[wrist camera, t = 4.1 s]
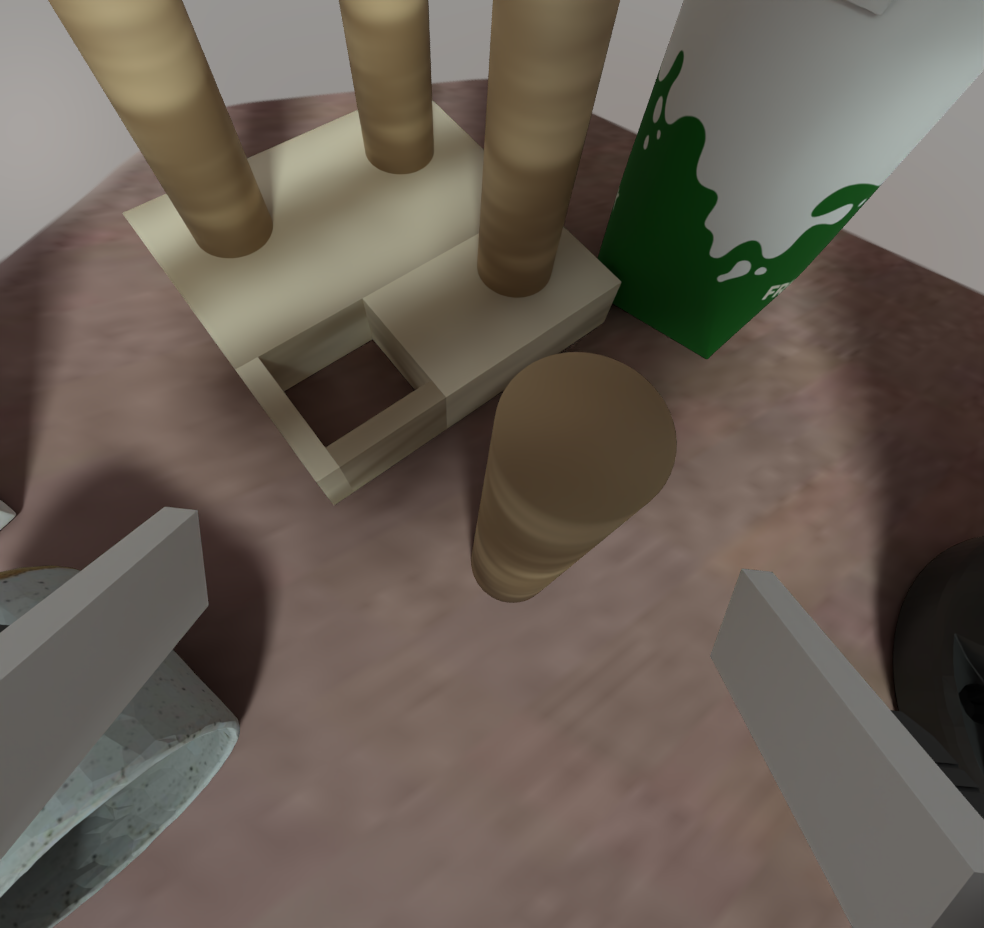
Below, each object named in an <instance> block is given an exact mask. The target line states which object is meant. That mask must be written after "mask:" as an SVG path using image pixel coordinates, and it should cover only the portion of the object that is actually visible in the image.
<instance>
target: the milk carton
mask: <svg viewBox="0 0 984 928" xmlns="http://www.w3.org/2000/svg"><path fill="white" fill-rule="evenodd" d="M15 516H16V513H15V512H14V511H13V510H12V509H11V508H10V507H9V506H7V505H6V504H5V503H4V502H3V501H1V500H0V530H1V529H2V528H3V527H4V526H5V525H7V524H8V523H9V522H10V521H11V520H12V519H13V518H14V517H15Z"/></svg>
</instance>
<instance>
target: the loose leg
mask: <svg viewBox="0 0 984 928" xmlns="http://www.w3.org/2000/svg"><path fill="white" fill-rule="evenodd" d="M676 445H677V441H676V431H675V427H674V423H673V419H672V417H671V414H670V411H669V409H668V407H667V406H666V404H665V402H664V400H663V399H662V397H661V396H660V394H659V393H658V391H657V390H656V389H655V388H654V387H653V386H652V385H651V383H650V382H648V381H647V380H646V379H645V378H644V377H643V376H642V375H641V374H639V373H638V372H636V371H635V370H634V369H632V368H630V367H629V366H627V365H625V364H623V363H621V362H619V361H617V360H614V359H612V358H609V357H606V356H603V355H598V354H593V353H585V352H566V353H560V354H555V355H551V356H548V357H545V358H542V359H540V360H538V361H535V362H534V363H532V364H530V365H529V366H527V367H526V368H524V369H523V370H522V371H520V372H519V373H518V374H517V375H516V376H515V377H514V378H513V379H512V380H511V381H510V383H509V384H508V386H507V387H506V388H505V390H504V392H503V394H502V396H501V398H500V400H499V403H498V406H497V409H496V414H495V419H494V425H493V431H492V437H491V443H490V449H489V455H488V461H487V467H486V473H485V479H484V484H483V490H482V496H481V502H480V508H479V514H478V520H477V526H476V532H475V538H474V544H473V550H472V556H471V566H472V571H473V574H474V577H475V579H476V581H477V583H478V584H479V586H480V587H481V588H482V589H483V590H484V591H485V592H486V593H487V594H488V595H490V596H491V597H493V598H495V599H497V600H500V601H503V602H511V603H515V602H522V601H525V600H528V599H530V598H532V597H534V596H535V595H536V594H538V593H539V592H540V591H541V590H543V589H544V588H545V587H546V586H548V585H549V584H550V583H551V582H552V581H554V580H555V579H556V578H557V577H558V576H560V575H561V574H562V573H563V572H565V571H566V570H567V569H568V568H569V567H571V566H572V565H573V564H574V563H576V562H577V561H578V560H579V559H580V558H582V557H583V556H584V555H585V554H586V553H588V552H589V551H590V550H591V549H593V548H594V547H595V546H596V545H597V544H599V543H600V542H601V541H602V540H604V539H605V538H606V537H607V536H608V535H610V534H611V533H612V532H613V531H614V530H616V529H617V528H618V527H619V526H621V525H622V524H623V523H624V522H625V521H627V520H628V519H629V518H630V517H631V516H633V515H634V514H635V513H636V512H638V511H639V510H640V509H641V508H642V507H644V506H645V505H646V504H647V503H649V502H650V501H651V500H652V499H653V498H654V497H655V496H656V495H657V494H658V493H659V492H660V490H661V489H662V488H663V486H664V485H665V484H666V482H667V480H668V478H669V476H670V474H671V471H672V468H673V466H674V462H675V457H676Z"/></svg>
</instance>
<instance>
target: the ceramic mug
mask: <svg viewBox="0 0 984 928" xmlns="http://www.w3.org/2000/svg"><path fill="white" fill-rule="evenodd" d="M80 571H81V570H78V569H75V568H69V567H60V566H37V567H23V568H17V569H12V570H8V571H4V572H0V624H1V625H11V624H12V623H14V622H15V621H16V620H17V619H19V618H20V617H21V616H23V615H24V614H25V613H27V612H28V611H29V610H31V609H32V608H33V607H34V606H36V605H37V604H38V603H40V602H41V601H42V600H44V599H45V598H46V597H47V596H49V595H50V594H51V593H53V592H54V591H55V590H57V589H58V588H59V587H61V586H62V585H63V584H64V583H66V582H67V581H68V580H70V579H71V578H72V577H74V576H75V575H76V574H78V573H79V572H80ZM239 733H240V726H239V722H238V719H237V718H236V717H235V715H234V714H233V713H232V712H231V711H230V710H229V709H228V708H227V707H226V706H225V704H224V703H223V702H222V701H221V700H220V699H219V698H218V697H217V696H216V695H215V694H214V693H213V692H212V691H211V690H210V689H209V688H208V687H207V686H206V685H205V684H204V683H203V682H202V681H201V680H200V679H199V677H198V676H197V675H196V674H195V673H194V672H193V671H192V670H191V669H190V668H189V667H188V665H187V664H186V663H185V662H184V661H183V660H182V659H181V658H180V657H179V655H178V654H177V653H176V652H174V651H173V650H172V651H171V652H170V653H169V654H168V656H167V657H166V658H165V659H164V661H163V662H162V663H161V664H160V665H159V667H158V668H157V669H156V670H155V672H154V673H153V674H152V675H151V676H150V678H149V679H148V680H147V681H146V683H145V684H144V685H143V686H142V687H141V689H140V690H139V691H138V692H137V694H136V695H135V696H134V697H133V698H132V700H131V701H130V702H129V703H128V705H127V706H126V707H125V708H124V709H123V711H122V712H121V713H120V714H119V716H118V717H117V718H116V719H115V720H114V722H113V723H112V724H111V725H110V727H109V728H108V729H107V730H106V731H105V733H104V734H103V735H102V736H101V738H100V739H99V740H98V741H97V742H96V744H95V745H94V746H93V747H92V749H91V750H90V751H89V752H88V754H87V755H86V756H85V757H84V758H83V760H82V761H81V762H80V763H79V765H78V766H77V767H76V768H75V769H74V771H73V772H72V773H71V774H70V776H69V777H68V778H67V779H66V780H65V782H64V783H63V784H62V785H61V787H60V788H59V789H58V790H57V791H56V793H55V794H54V795H53V796H52V798H51V799H50V800H49V801H48V802H47V804H46V805H45V806H44V807H43V809H42V810H41V811H40V812H39V813H38V815H37V816H36V817H35V818H34V820H33V821H32V822H31V823H30V824H29V826H28V827H27V828H26V829H25V831H24V832H23V833H22V834H21V835H20V837H19V838H18V839H17V840H16V842H15V843H14V844H13V845H12V846H11V848H10V849H9V850H8V851H7V853H6V854H5V855H4V856H3V858H2V859H1V860H0V928H52V927H53V926H55V925H56V924H57V923H59V922H60V921H61V920H63V919H64V918H66V917H67V916H68V915H69V914H70V913H72V912H73V911H74V910H75V909H76V908H78V907H79V906H80V905H81V904H82V903H84V902H85V901H86V900H87V899H89V898H90V897H91V896H92V895H94V894H95V893H96V892H98V891H99V890H100V889H101V888H102V887H103V886H104V885H105V884H106V883H108V882H109V881H110V880H111V879H112V878H113V877H115V876H116V875H117V874H118V873H119V872H121V871H122V870H123V869H124V868H125V867H126V866H127V865H128V864H129V863H131V862H132V861H133V860H134V859H135V858H136V857H137V856H138V855H140V854H141V853H142V852H143V851H144V850H145V849H146V848H147V847H148V846H149V845H150V843H151V842H152V841H153V840H154V839H155V838H156V837H157V836H158V835H159V834H160V833H161V832H162V831H163V830H164V829H165V828H166V827H167V826H169V825H170V824H171V823H172V822H173V821H174V820H175V819H176V818H177V817H178V816H179V815H180V814H181V813H182V812H183V811H184V810H185V809H186V808H187V807H188V806H189V804H190V803H191V802H192V801H193V800H194V799H195V798H196V796H197V795H198V794H199V793H200V792H201V791H202V790H203V789H204V788H205V787H206V786H207V785H208V783H209V782H210V780H211V779H212V777H213V776H214V775H215V774H216V773H217V772H218V771H219V769H220V768H221V766H222V765H223V764H224V762H225V760H226V759H227V757H228V756H229V755H230V753H231V751H232V749H233V747H234V746H235V744H236V742H237V740H238V737H239Z"/></svg>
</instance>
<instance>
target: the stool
mask: <svg viewBox="0 0 984 928" xmlns="http://www.w3.org/2000/svg"><path fill="white" fill-rule="evenodd" d="M48 1H49V2H50V4H51V5H52V7H53V9H54V10H55V12H56V14H57V15H58V17H59V18H60V20H61V22H62V24H63V25H64V27H65V28H66V30H67V32H68V33H69V35H70V37H71V38H72V40H73V42H74V43H75V45H76V46H77V48H78V50H79V51H80V53H81V55H82V56H83V58H84V59H85V61H86V63H87V64H88V66H89V68H90V69H91V71H92V73H93V74H94V76H95V77H96V79H97V81H98V82H99V84H100V86H101V87H102V89H103V91H104V92H105V94H106V95H107V97H108V99H109V100H110V102H111V104H112V105H113V107H114V109H115V110H116V112H117V113H118V115H119V117H120V118H121V120H122V122H123V123H124V125H125V127H126V128H127V130H128V131H129V133H130V135H131V136H132V138H133V140H134V141H135V143H136V144H137V146H138V148H139V149H140V151H141V153H142V154H143V156H144V158H145V159H146V161H147V162H148V164H149V166H150V167H151V169H152V171H153V172H154V174H155V176H156V177H157V179H158V180H159V182H160V184H161V185H162V187H163V189H164V190H165V192H166V194H165V195H163V196H160V197H158V198H156V199H154V200H151V201H149V202H147V203H144V204H142V205H140V206H138V207H135V208H133V209H131V210H128V211H126V212H124V213H123V215H124V216H125V217H126V219H127V220H128V222H129V223H130V224H131V226H132V227H133V229H134V230H135V231H136V233H137V234H138V235H139V237H140V238H141V240H142V241H143V242H144V244H145V245H146V247H147V248H148V249H149V251H150V252H151V253H152V255H153V256H154V258H155V259H156V260H157V262H158V263H159V265H160V266H161V267H162V269H163V270H164V272H165V273H166V274H167V276H168V277H169V278H170V280H171V281H172V283H173V284H174V285H175V287H176V288H177V290H178V291H179V292H180V294H181V295H182V297H183V298H184V299H185V301H186V302H187V303H188V305H189V306H190V308H191V309H192V310H193V312H194V313H195V315H196V316H197V317H198V319H199V320H200V322H201V323H202V324H203V326H204V327H205V328H206V330H207V331H208V333H209V334H210V335H211V337H212V338H213V340H214V341H215V342H216V344H217V345H218V347H219V348H220V349H221V351H222V352H223V353H224V355H225V356H226V358H227V359H228V360H229V362H230V363H231V365H232V366H233V367H234V369H235V370H236V372H237V373H238V374H239V376H240V377H241V378H242V380H243V381H244V383H245V384H246V385H247V387H248V388H249V390H250V391H251V392H252V394H253V395H254V397H255V398H256V399H257V401H258V402H259V403H260V405H261V406H262V408H263V409H264V410H265V412H266V413H267V415H268V416H269V417H270V419H271V420H272V422H273V423H274V424H275V426H276V427H277V428H278V430H279V431H280V433H281V434H282V435H283V437H284V438H285V440H286V441H287V442H288V444H289V445H290V447H291V448H292V449H293V451H294V452H295V453H296V455H297V456H298V458H299V459H300V460H301V462H302V463H303V465H304V466H305V467H306V469H307V470H308V471H309V473H310V474H311V476H312V477H313V478H314V480H315V481H316V483H317V484H318V485H319V487H320V488H321V489H322V490H323V492H324V493H325V494H326V496H327V497H328V498H329V500H330V501H331V502H332V504H333V505H335V504H337V503H338V502H340V501H341V500H343V499H344V498H346V497H347V496H349V495H350V494H352V493H353V492H355V491H356V490H358V489H359V488H361V487H362V486H363V485H365V484H366V483H368V482H369V481H371V480H372V479H374V478H375V477H377V476H378V475H380V474H381V473H383V472H384V471H386V470H387V469H389V468H390V467H391V466H393V465H394V464H396V463H397V462H399V461H400V460H402V459H403V458H405V457H406V456H408V455H409V454H411V453H412V452H414V451H415V450H417V449H418V448H419V447H421V446H422V445H424V444H425V443H427V442H428V441H430V440H431V439H433V438H434V437H436V436H437V435H439V434H440V433H442V432H443V431H445V430H446V429H447V428H449V427H450V426H452V425H453V424H455V423H456V422H458V421H459V420H461V419H462V418H464V417H465V416H467V415H468V414H470V413H471V412H472V411H474V410H475V409H477V408H478V407H480V406H481V405H483V404H484V403H486V402H487V401H489V400H490V399H492V398H493V397H495V396H496V395H498V394H499V393H500V392H502V391H503V390H505V388H506V387H507V386H508V384H509V383H510V381H511V380H512V379H513V378H514V377H515V376H516V375H517V374H518V373H519V372H520V371H522V370H523V369H524V368H526V367H527V366H529V365H530V364H532V363H534V362H535V361H538V360H540V359H542V358H545V357H548V356H551V355H555V354H558V353H559V352H561V351H562V350H564V349H565V348H567V347H568V346H570V345H571V344H573V343H574V342H576V341H577V340H579V339H580V338H582V337H583V336H584V335H586V334H587V333H589V332H590V331H592V330H593V329H595V328H596V327H598V326H599V325H601V324H602V323H604V321H605V318H606V316H607V314H608V312H609V309H610V307H611V305H612V303H613V300H614V298H615V296H616V294H617V291H618V289H619V287H620V284H621V281H620V280H619V279H618V278H617V277H616V276H615V275H614V274H613V273H612V272H611V271H610V270H609V269H608V268H607V267H605V266H604V265H603V264H602V263H601V262H600V261H599V260H598V259H597V258H596V257H595V256H594V255H593V254H592V253H591V252H590V251H589V250H588V249H587V248H586V247H585V246H584V245H583V244H582V243H580V242H579V241H578V240H577V239H576V238H575V237H574V236H573V235H572V234H571V233H570V232H569V231H568V230H567V229H566V228H565V227H564V226H563V225H564V221H565V217H566V213H567V209H568V205H569V202H570V198H571V194H572V190H573V186H574V182H575V178H576V174H577V170H578V166H579V162H580V158H581V154H582V150H583V146H584V142H585V138H586V134H587V130H588V126H589V122H590V118H591V114H592V110H593V106H594V102H595V98H596V94H597V90H598V86H599V82H600V78H601V74H602V70H603V66H604V62H605V58H606V54H607V50H608V46H609V42H610V38H611V34H612V30H613V26H614V22H615V18H616V14H617V10H618V6H619V3H620V0H493V8H492V9H493V10H492V25H491V42H490V59H489V76H488V92H487V109H486V126H485V143H484V149H483V148H482V147H481V146H479V145H478V144H477V143H476V142H475V141H474V140H473V139H472V138H471V137H470V136H469V135H468V134H467V133H466V132H465V131H464V130H463V129H462V128H461V127H460V126H459V125H458V124H457V123H456V122H455V121H453V120H452V119H451V118H450V117H449V116H448V115H447V114H446V113H445V112H444V111H443V110H442V109H441V108H440V107H439V106H438V105H437V104H436V103H435V102H434V101H433V100H432V84H431V59H430V32H429V6H428V0H339V4H340V9H341V15H342V21H343V27H344V32H345V38H346V44H347V50H348V55H349V61H350V67H351V73H352V79H353V85H354V90H355V96H356V102H357V108H358V110H357V111H354V112H352V113H350V114H347V115H345V116H343V117H341V118H338V119H336V120H334V121H331V122H329V123H327V124H325V125H322V126H320V127H318V128H315V129H313V130H311V131H309V132H306V133H304V134H302V135H299V136H297V137H295V138H293V139H290V140H288V141H286V142H284V143H281V144H279V145H277V146H274V147H272V148H270V149H268V150H265V151H263V152H261V153H258V154H256V155H254V156H252V157H249V158H246V155H245V153H244V150H243V148H242V145H241V143H240V140H239V138H238V136H237V133H236V131H235V128H234V126H233V123H232V121H231V118H230V116H229V114H228V111H227V109H226V106H225V104H224V101H223V99H222V97H221V94H220V92H219V89H218V87H217V84H216V82H215V79H214V77H213V75H212V72H211V70H210V67H209V65H208V63H207V60H206V57H205V55H204V53H203V50H202V48H201V45H200V43H199V40H198V38H197V36H196V33H195V31H194V28H193V26H192V23H191V21H190V19H189V16H188V14H187V11H186V9H185V7H184V4H183V1H182V0H48ZM372 339H373V340H374V341H375V343H376V344H377V345H378V346H379V347H380V349H381V350H382V351H383V352H384V353H385V355H386V356H387V357H388V358H389V359H390V361H391V362H392V363H393V364H394V365H395V367H396V368H397V369H398V370H399V372H400V373H401V374H402V375H403V376H404V378H405V379H406V380H407V381H408V382H409V384H410V385H411V386H412V387H413V388H414V390H415V391H413V392H412V393H410V394H408V395H407V396H405V397H404V398H402V399H401V400H399V401H398V402H396V403H394V404H393V405H391V406H390V407H388V408H387V409H385V410H383V411H382V412H380V413H379V414H377V415H376V416H374V417H373V418H371V419H369V420H368V421H366V422H365V423H363V424H362V425H360V426H358V427H357V428H355V429H354V430H352V431H351V432H349V433H347V434H346V435H344V436H343V437H341V438H340V439H338V440H337V441H335V442H333V443H332V444H330V445H329V446H327V447H326V448H325V447H324V446H323V444H322V443H321V442H320V440H319V439H318V438H317V436H316V435H315V433H314V432H313V431H312V429H311V428H310V427H309V425H308V424H307V423H306V421H305V420H304V419H303V417H302V416H301V415H300V413H299V412H298V411H297V409H296V408H295V406H294V405H293V404H292V402H291V401H290V400H289V398H288V397H287V396H286V394H285V393H284V391H285V390H287V389H289V388H291V387H292V386H294V385H296V384H297V383H299V382H301V381H302V380H304V379H306V378H308V377H309V376H311V375H313V374H314V373H316V372H318V371H319V370H321V369H323V368H324V367H326V366H328V365H330V364H331V363H333V362H335V361H336V360H338V359H340V358H341V357H343V356H345V355H347V354H348V353H350V352H352V351H353V350H355V349H357V348H358V347H360V346H362V345H364V344H365V343H367V342H369V341H370V340H372Z"/></svg>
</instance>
